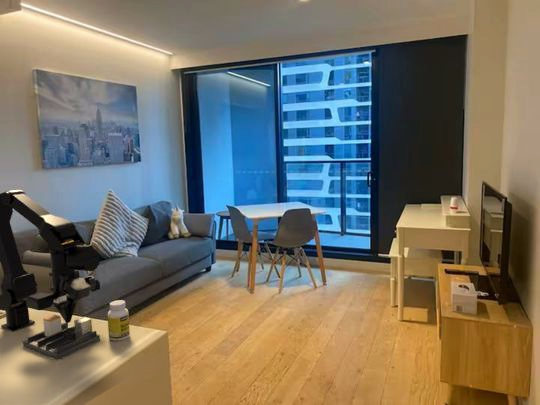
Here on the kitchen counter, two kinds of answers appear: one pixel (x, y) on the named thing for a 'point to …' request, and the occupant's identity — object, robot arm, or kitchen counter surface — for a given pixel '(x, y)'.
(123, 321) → the supplement bottle
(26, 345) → the breaker panel
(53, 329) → the block
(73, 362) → the kitchen counter surface
